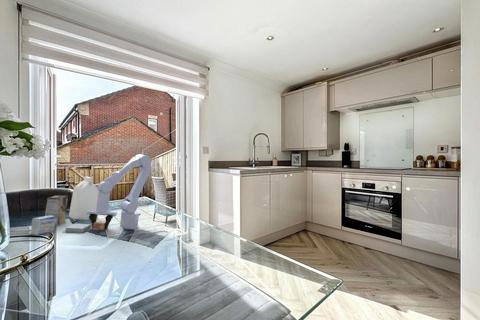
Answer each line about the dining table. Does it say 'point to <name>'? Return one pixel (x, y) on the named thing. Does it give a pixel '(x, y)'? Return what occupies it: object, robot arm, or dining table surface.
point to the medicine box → (42, 225)
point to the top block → (78, 228)
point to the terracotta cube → (99, 225)
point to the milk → (83, 199)
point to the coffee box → (57, 208)
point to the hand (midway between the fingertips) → (100, 228)
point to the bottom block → (77, 232)
